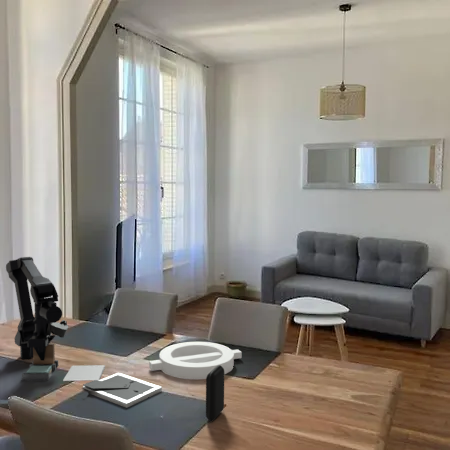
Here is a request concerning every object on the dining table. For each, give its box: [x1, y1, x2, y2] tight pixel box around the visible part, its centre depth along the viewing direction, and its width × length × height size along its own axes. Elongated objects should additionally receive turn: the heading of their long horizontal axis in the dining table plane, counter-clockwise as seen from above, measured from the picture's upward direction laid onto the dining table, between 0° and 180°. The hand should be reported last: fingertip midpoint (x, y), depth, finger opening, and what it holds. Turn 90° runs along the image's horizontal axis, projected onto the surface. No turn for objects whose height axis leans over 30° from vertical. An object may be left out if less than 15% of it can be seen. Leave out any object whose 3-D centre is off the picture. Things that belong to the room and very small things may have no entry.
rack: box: [20, 360, 59, 382], centre depth 183 cm, size 14×9×3 cm, turn 4°
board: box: [62, 364, 106, 382], centre depth 183 cm, size 14×12×1 cm
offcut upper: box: [26, 366, 52, 373], centre depth 181 cm, size 6×7×1 cm
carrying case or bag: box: [205, 365, 225, 422], centre depth 153 cm, size 11×3×15 cm, turn 159°
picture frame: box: [82, 372, 163, 408], centre depth 170 cm, size 16×3×21 cm
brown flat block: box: [32, 342, 56, 364], centre depth 187 cm, size 2×7×9 cm, turn 94°
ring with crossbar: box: [148, 341, 243, 380], centre depth 195 cm, size 28×28×5 cm
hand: (44, 358), depth 187 cm, fingers open, 3 cm apart
